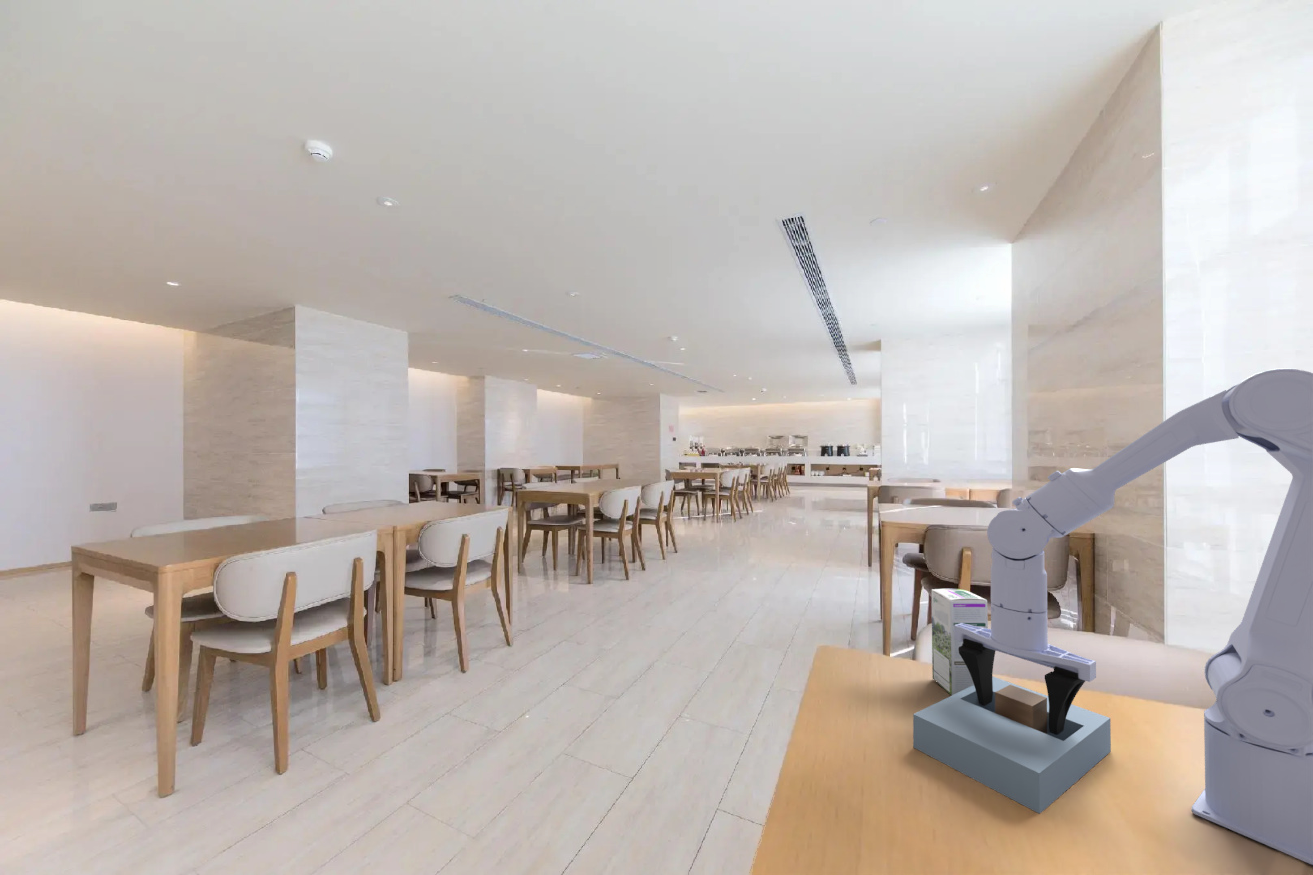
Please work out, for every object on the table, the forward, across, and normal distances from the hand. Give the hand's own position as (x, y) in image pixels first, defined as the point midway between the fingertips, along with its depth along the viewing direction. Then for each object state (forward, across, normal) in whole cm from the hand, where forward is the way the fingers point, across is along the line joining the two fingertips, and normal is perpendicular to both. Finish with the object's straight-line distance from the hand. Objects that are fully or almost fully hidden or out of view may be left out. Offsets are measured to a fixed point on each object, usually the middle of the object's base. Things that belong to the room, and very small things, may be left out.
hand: (1019, 716), depth 62 cm
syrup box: (+4, +12, -9) cm, 15 cm away
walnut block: (+3, 0, 0) cm, 4 cm away
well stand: (+3, 0, +2) cm, 4 cm away
